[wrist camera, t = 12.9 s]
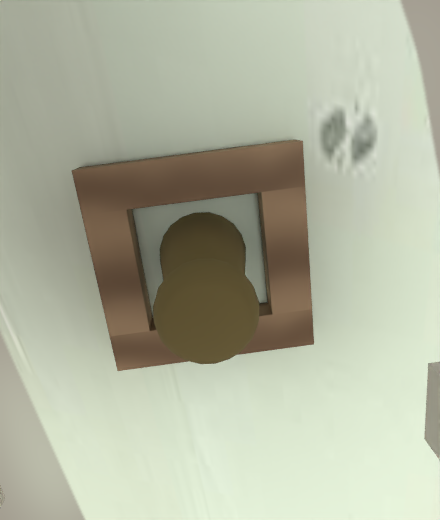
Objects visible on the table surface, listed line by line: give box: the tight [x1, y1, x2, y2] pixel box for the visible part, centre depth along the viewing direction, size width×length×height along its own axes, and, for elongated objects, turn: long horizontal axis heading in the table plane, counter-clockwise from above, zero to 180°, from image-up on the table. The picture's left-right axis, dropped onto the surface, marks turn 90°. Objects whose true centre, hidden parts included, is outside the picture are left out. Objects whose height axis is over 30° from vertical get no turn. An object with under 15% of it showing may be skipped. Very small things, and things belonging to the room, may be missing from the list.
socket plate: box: [72, 140, 314, 371], centre depth 29 cm, size 14×14×2 cm
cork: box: [153, 212, 259, 364], centre depth 24 cm, size 6×6×11 cm
